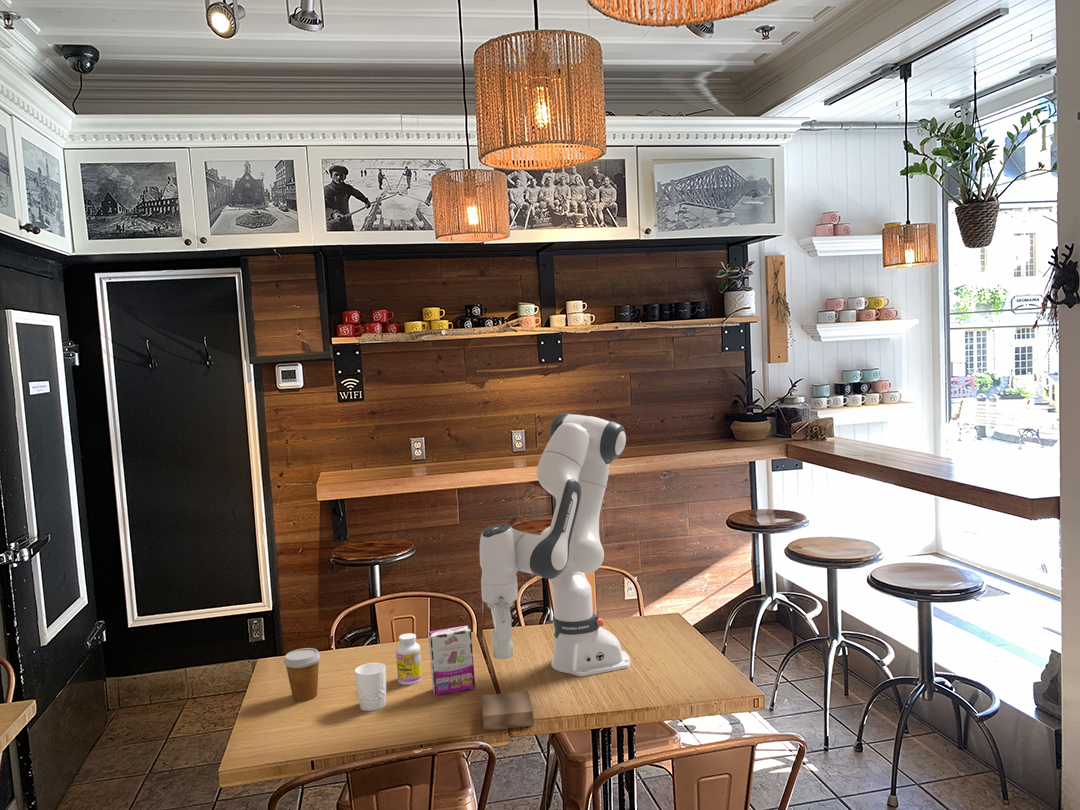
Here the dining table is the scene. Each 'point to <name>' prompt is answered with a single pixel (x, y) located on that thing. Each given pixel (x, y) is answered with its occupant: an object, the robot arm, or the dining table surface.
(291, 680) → the disposable coffee cup
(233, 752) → the dining table surface
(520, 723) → the walnut block
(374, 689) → the white cup
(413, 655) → the supplement bottle
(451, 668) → the candy bar box
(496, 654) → the pale green rounded block
